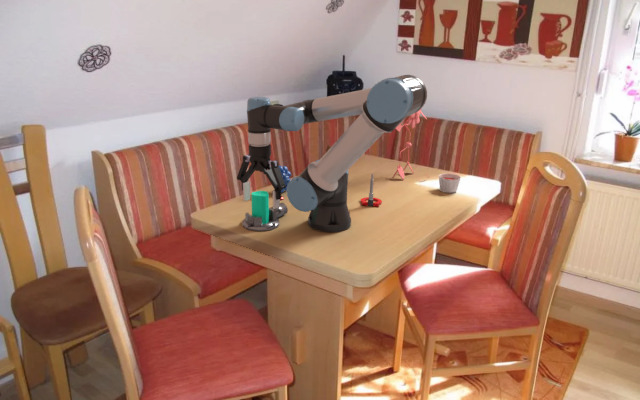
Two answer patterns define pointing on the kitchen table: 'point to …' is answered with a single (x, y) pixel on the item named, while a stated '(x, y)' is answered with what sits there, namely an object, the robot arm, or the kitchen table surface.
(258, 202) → the candle
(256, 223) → the fitting
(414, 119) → the figurine
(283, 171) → the grapes
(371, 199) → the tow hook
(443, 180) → the candle
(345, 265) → the kitchen table surface
